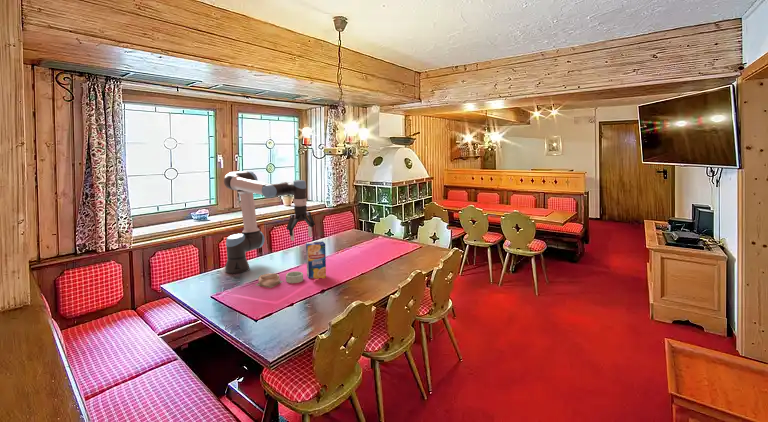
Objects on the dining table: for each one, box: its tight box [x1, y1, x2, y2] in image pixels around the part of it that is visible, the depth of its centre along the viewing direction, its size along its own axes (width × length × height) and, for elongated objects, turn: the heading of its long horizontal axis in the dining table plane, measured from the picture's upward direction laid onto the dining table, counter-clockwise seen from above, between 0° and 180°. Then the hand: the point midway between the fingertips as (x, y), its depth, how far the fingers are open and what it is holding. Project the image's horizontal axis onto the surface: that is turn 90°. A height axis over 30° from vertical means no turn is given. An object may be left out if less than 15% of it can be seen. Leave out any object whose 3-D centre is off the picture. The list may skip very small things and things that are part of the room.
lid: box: [258, 272, 281, 288], centre depth 232 cm, size 12×12×4 cm
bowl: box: [285, 270, 304, 284], centre depth 237 cm, size 10×10×5 cm
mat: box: [255, 280, 284, 289], centre depth 232 cm, size 12×12×1 cm
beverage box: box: [305, 240, 327, 280], centre depth 244 cm, size 7×11×22 cm, turn 110°
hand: (301, 238), depth 244 cm, fingers open, 13 cm apart
